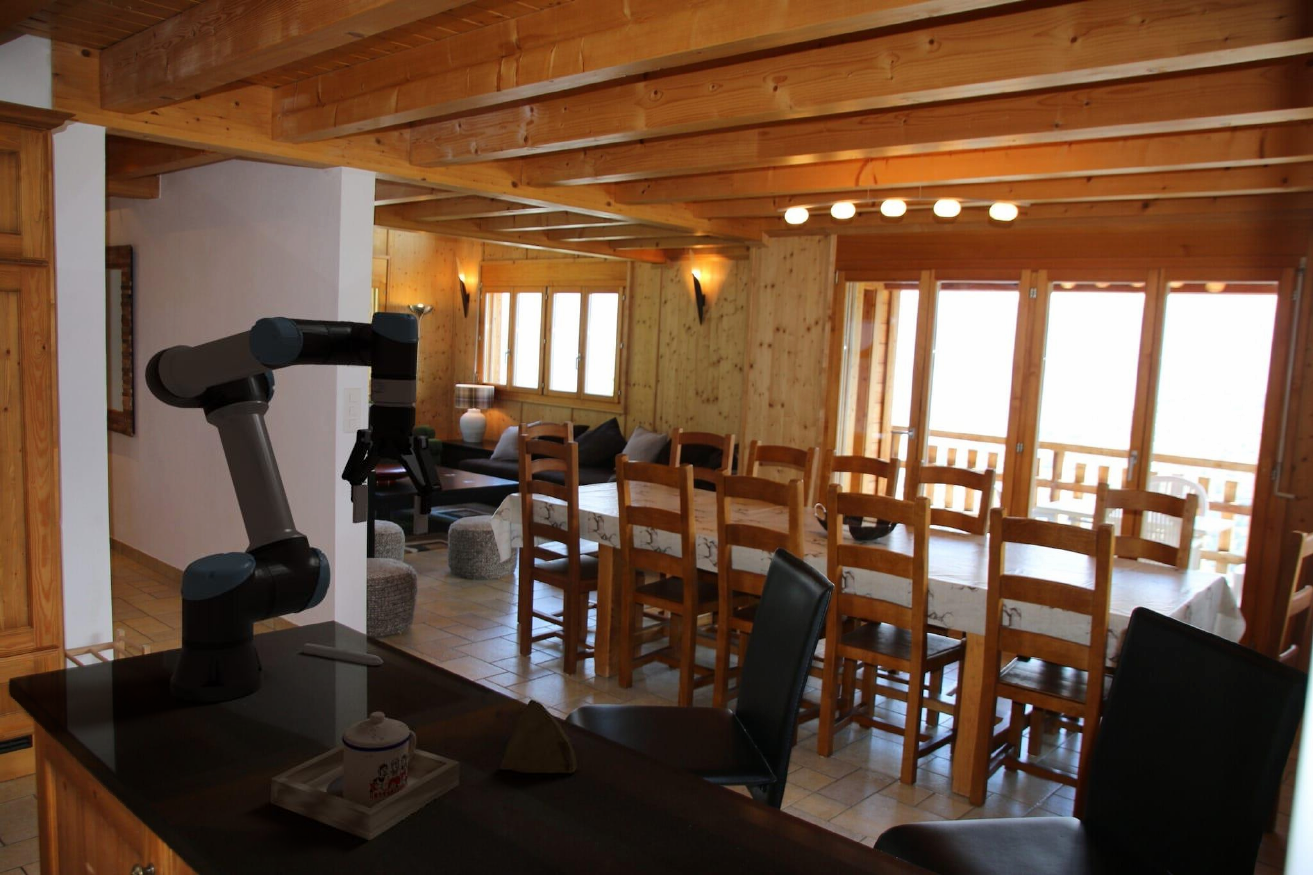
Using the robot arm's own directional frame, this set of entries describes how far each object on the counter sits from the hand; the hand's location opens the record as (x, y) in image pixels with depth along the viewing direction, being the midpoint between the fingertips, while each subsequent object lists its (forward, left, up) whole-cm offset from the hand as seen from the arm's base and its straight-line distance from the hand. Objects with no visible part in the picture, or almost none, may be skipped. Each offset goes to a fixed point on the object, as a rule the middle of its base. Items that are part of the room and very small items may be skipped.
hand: (389, 527), depth 161 cm
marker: (-23, +13, -32) cm, 42 cm away
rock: (+36, -5, -32) cm, 48 cm away
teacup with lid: (+23, -25, -31) cm, 45 cm away
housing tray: (+20, -25, -32) cm, 45 cm away
